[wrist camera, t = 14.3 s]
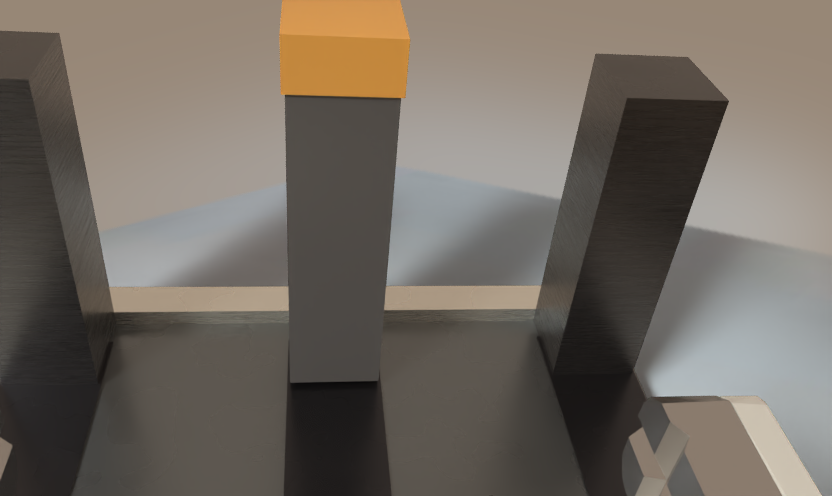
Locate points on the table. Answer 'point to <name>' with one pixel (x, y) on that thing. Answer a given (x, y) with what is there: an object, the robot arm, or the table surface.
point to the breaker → (340, 178)
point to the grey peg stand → (401, 336)
